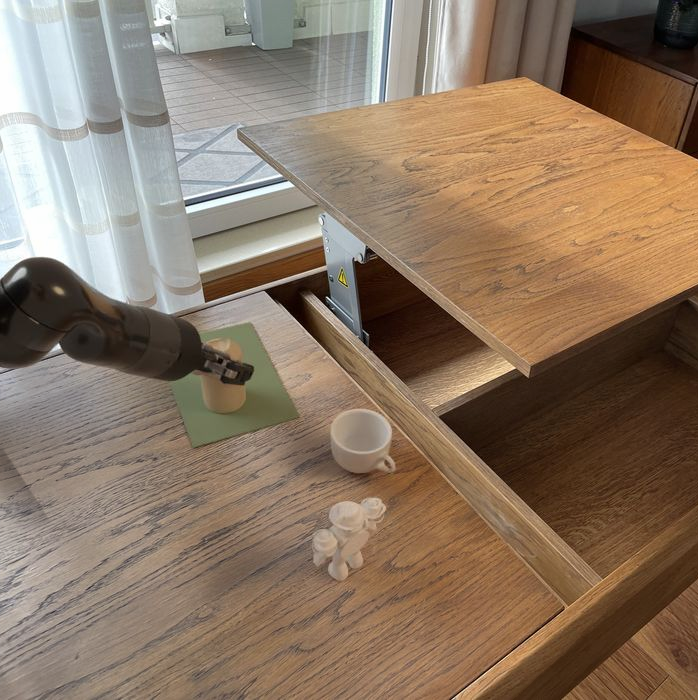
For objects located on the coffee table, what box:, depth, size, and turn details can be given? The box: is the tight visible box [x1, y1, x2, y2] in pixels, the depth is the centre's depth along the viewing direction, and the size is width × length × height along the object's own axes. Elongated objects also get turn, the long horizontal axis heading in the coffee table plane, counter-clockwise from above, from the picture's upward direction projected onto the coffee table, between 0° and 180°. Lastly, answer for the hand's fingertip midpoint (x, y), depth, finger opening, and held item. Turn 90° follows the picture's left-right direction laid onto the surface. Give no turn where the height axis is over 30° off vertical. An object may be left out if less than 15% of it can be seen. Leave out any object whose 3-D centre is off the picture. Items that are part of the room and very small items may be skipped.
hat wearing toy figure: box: [311, 495, 387, 582], centre depth 77 cm, size 9×4×12 cm, turn 135°
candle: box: [200, 338, 246, 413], centre depth 95 cm, size 6×6×10 cm
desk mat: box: [168, 321, 300, 449], centre depth 101 cm, size 14×22×1 cm, turn 30°
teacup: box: [329, 408, 396, 474], centre depth 91 cm, size 10×8×5 cm
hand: (230, 364), depth 96 cm, fingers closed on candle, 5 cm apart
